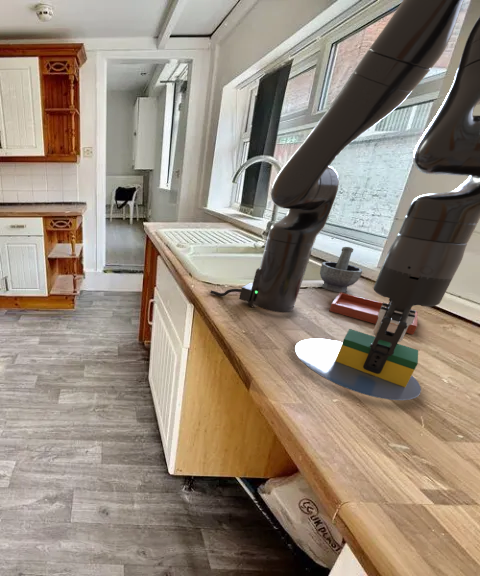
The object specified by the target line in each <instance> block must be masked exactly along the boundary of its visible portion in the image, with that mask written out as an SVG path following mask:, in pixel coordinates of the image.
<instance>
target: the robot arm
mask: <svg viewBox="0 0 480 576" xmlns="http://www.w3.org/2000/svg"><path fill="white" fill-rule="evenodd" d="M464 1H465V0H402V1H401V3H400V4H399V6H398V7H397V9H396V10H395V12H394V13H393V14H392V16H391V17H390V19H389V21H388V22H387V23H386V25H385V26H384V28H383V29H382V30H381V32H380V33H379V34H378V36H377V37H376V39H375V40H374V41H373V43H372V44H371V45H370V47H369V48H368V50H367V51H366V52H365V54H364V55H363V57H362V58H361V60H360V61H359V63H358V64H357V66H356V67H355V68H354V69H353V71H352V73H351V75H350V76H349V77H348V79H347V81H346V82H345V84H344V85H343V87H342V89H340V92H339V93H338V94H337V95H336V97H335V99H334V100H333V101H332V103H331V104H330V105H329V106H328V108H327V110H326V111H325V112H324V114H323V115H322V116H321V117H320V119H319V121H318V122H317V123H316V125H315V126H314V127H313V129H312V130H311V132H310V133H309V134H308V136H307V137H306V138H305V140H304V141H303V142H302V143H301V144H300V145H299V147H298V148H297V150H295V152H294V153H292V155H291V156H290V158H289V159H288V160H287V162H286V163H285V164H284V165H283V166H282V168H281V169H280V170H279V172H278V173H277V175H276V177H275V179H274V180H273V182H272V186H271V189H270V198H271V201H272V203H273V204H274V205H275V206H277V207H278V208H280V209H285V210H287V212H286V214H285V215H284V216H283V218H281V219H280V220H278V221H276V222H274V223H273V224H272V225H270V227H269V229H268V235H267V238H266V242H265V246H264V250H263V253H262V257H261V261H260V264H259V267H258V268H256V270H255V273H254V277H253V281H252V282H248V283H247V284H245V285H243V286H242V287H241V288H230V289H227V290H226V291H224V292H218V291H215V290H212V289H211V290H210V294H213V295H214V296H218V297H225V296H227V295H228V294H230V293H239V297H238V300H241V301H245V302H247V306H249V307H252V308H253V309H255V308H257V307H258V308H261V309H264V310H267V311H270V312H277V313H290V312H293V311H294V308H295V305H296V302H297V299H298V295H299V293H300V290H301V286H302V283H303V280H304V277H305V274H306V271H307V268H308V264H309V261H310V258H311V256H312V252H313V249H314V245H315V242H316V239H317V238H318V236H319V235H320V233H321V232H322V231H323V229H324V228H325V225H326V223H327V221H328V218H329V215H330V214H331V210H332V209H333V205H334V203H335V200H336V198H337V193H338V192H339V185H340V182H339V179H340V178H339V175H338V172H337V171H336V169H334V167H333V166H330V165H331V164H332V163H333V161H334V160H336V158H337V157H338V156H339V154H340V153H341V152H342V151H343V150H344V149H345V148H347V147H348V146H349V145H350V144H351V143H353V142H354V141H355V140H356V139H358V138H359V136H361V135H363V134H364V133H365V132H367V131H368V130H370V129H372V128H373V127H374V126H375V125H377V124H378V123H380V122H381V121H382V120H383V119H384V118H386V117H387V116H388V115H390V114H391V113H392V112H393V111H395V110H396V109H397V108H398V107H399V106H400V105H401V104H402V103H404V101H405V100H406V99H407V98H408V97H409V96H410V94H411V93H412V92H413V91H414V90H415V89H416V88H417V86H419V84H420V83H421V81H422V80H423V79H424V78H425V77H426V76H427V75H428V73H429V72H430V71H431V69H433V67H434V66H435V64H437V62H438V61H439V60H440V58H441V57H442V55H443V54H444V53H445V50H446V49H447V47H448V45H449V43H450V41H451V38H452V35H453V32H454V30H455V27H456V24H457V22H458V18H459V16H460V12H461V10H462V7H463V4H464ZM479 105H480V15H479V16H478V17H477V19H476V21H475V22H474V24H473V26H472V28H471V29H470V32H469V33H468V37H467V39H466V41H465V43H464V47H463V51H462V53H461V57H460V59H459V63H458V67H457V70H456V73H455V76H454V80H453V83H452V85H451V87H450V89H449V92H448V93H447V95H446V96H445V99H444V101H443V102H442V105H441V106H440V108H439V109H438V111H437V113H436V115H435V116H434V117H433V119H432V121H431V122H430V123H429V125H428V127H427V128H426V129H425V131H424V132H423V134H422V136H421V137H420V139H419V140H418V142H417V144H416V145H415V148H414V150H413V157H412V158H413V164H414V166H415V168H416V169H417V170H418V171H419V172H420V173H422V174H426V175H433V176H434V175H436V176H437V175H438V176H460V177H461V176H462V177H463V176H464V177H467V179H466V180H464V181H463V183H461V184H460V185H459V186H458V187H457V188H455V189H454V190H450V191H446V192H435V193H426V194H422V195H419V196H417V197H415V198H414V199H413V200H412V201H411V203H410V205H409V207H408V209H407V211H406V214H405V216H404V219H403V221H402V223H401V226H400V228H399V231H398V234H397V236H396V237H395V239H394V241H393V242H392V244H391V246H390V247H389V249H388V251H387V254H386V256H385V259H384V261H383V263H382V266H381V269H380V271H379V273H378V275H377V278H376V280H375V284H374V285H373V291H374V292H375V293H376V294H378V295H379V296H381V297H382V298H383V297H384V298H388V303H387V302H382V303H383V304H382V306H381V308H380V311H379V313H378V320H377V322H376V324H374V325H375V326H374V327H373V330H372V334H373V336H374V337H375V338H374V341H373V343H372V344H370V347H371V348H370V352H369V354H368V356H367V358H366V361H365V363H364V365H363V368H364V369H365V370H368V371H370V372H373V373H376V374H379V373H381V371H382V369H383V367H384V365H385V363H386V360H387V358H388V356H391V355H393V354H394V349H395V347H396V345H397V344H399V342H402V341H403V339H404V338H405V335H406V334H407V333H406V330H407V328H408V326H409V325H411V324H412V323H413V320H414V318H415V312H416V311H417V310H415V309H412V307H414V306H420V307H435V306H438V305H440V304H441V302H442V300H443V298H444V296H445V294H446V293H447V290H448V288H449V287H450V285H451V282H452V281H453V278H454V277H455V274H456V272H457V271H458V268H459V267H460V265H461V263H462V260H463V258H464V255H465V251H466V248H467V245H468V243H469V241H470V239H471V237H472V236H473V233H474V231H475V230H476V227H477V225H478V224H479V222H480V115H473V114H474V111H475V109H476V107H477V106H479ZM379 340H383V341H386V342H390V343H391V344H390V346H389V347H388V346H385V345H381V344H378V341H379Z"/></svg>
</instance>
